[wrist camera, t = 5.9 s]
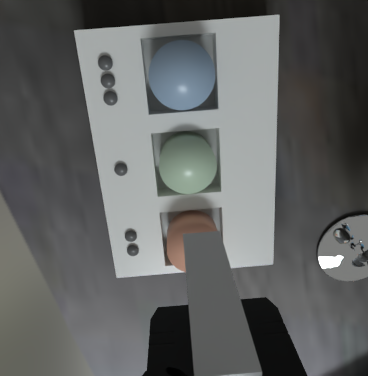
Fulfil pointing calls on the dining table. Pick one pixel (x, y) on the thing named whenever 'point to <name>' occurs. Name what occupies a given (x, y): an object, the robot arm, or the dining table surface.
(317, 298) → the dining table surface
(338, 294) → the dining table surface
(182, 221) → the terracotta button
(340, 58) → the dining table surface
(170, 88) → the slate button
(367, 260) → the wineglass
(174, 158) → the sage button
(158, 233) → the button panel
